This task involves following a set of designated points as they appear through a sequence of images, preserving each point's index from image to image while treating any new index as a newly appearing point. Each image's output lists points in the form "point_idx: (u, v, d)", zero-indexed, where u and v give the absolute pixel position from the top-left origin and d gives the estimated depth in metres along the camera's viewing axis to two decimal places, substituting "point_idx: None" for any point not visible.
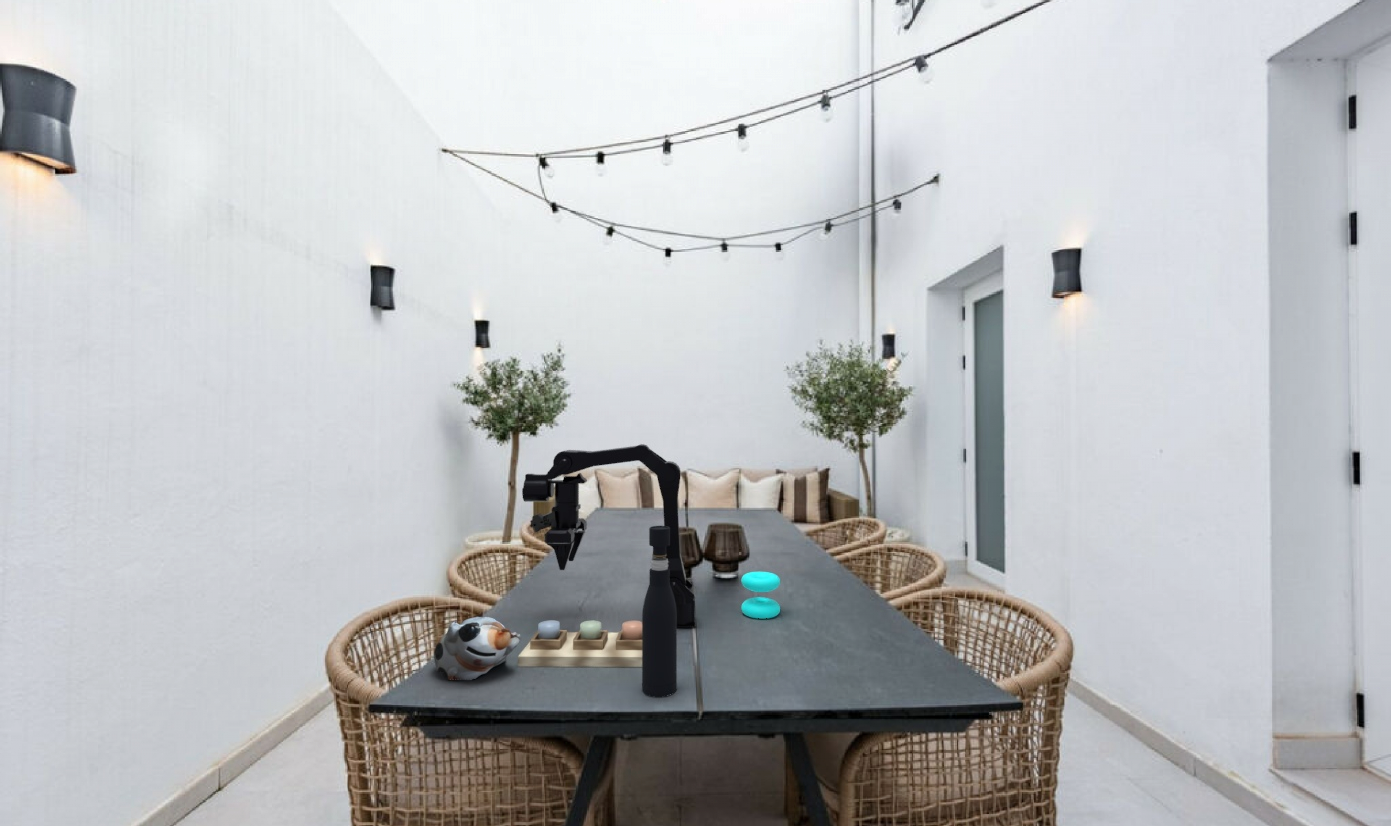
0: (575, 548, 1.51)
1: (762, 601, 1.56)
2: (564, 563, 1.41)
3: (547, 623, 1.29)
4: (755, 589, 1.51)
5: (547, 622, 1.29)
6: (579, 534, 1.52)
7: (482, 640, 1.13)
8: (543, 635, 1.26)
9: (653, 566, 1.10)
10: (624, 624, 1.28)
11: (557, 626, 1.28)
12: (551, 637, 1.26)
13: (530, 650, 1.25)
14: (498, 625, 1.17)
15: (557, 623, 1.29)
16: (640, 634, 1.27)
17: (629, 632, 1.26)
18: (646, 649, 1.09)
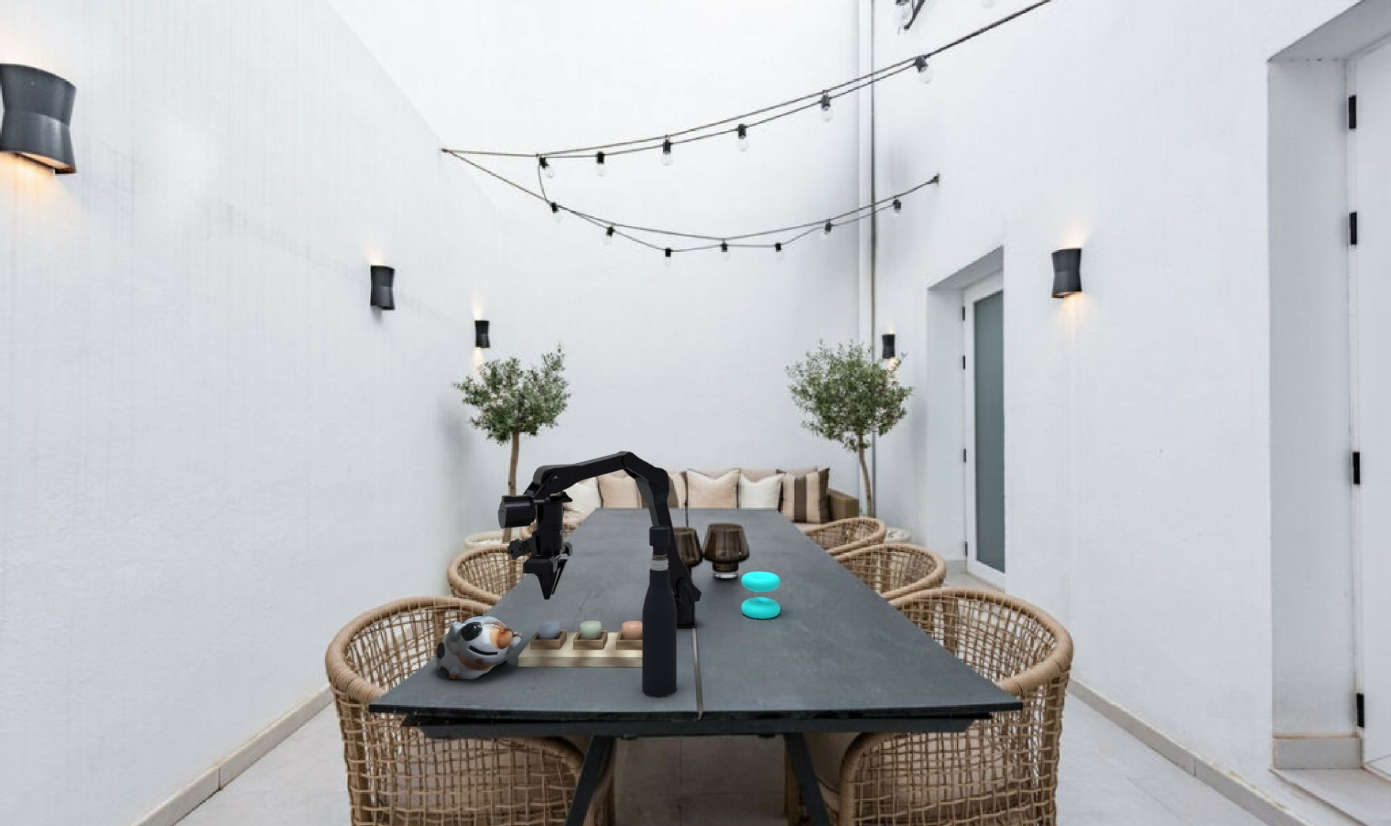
0: (556, 579, 1.30)
1: (762, 601, 1.56)
2: (549, 592, 1.26)
3: (547, 623, 1.29)
4: (755, 589, 1.51)
5: (547, 622, 1.29)
6: (561, 563, 1.31)
7: (484, 639, 1.14)
8: (543, 635, 1.26)
9: (653, 566, 1.10)
10: (624, 624, 1.28)
11: (557, 626, 1.28)
12: (551, 637, 1.26)
13: (530, 650, 1.25)
14: (500, 624, 1.18)
15: (557, 623, 1.29)
16: (640, 634, 1.27)
17: (629, 632, 1.26)
18: (646, 649, 1.09)
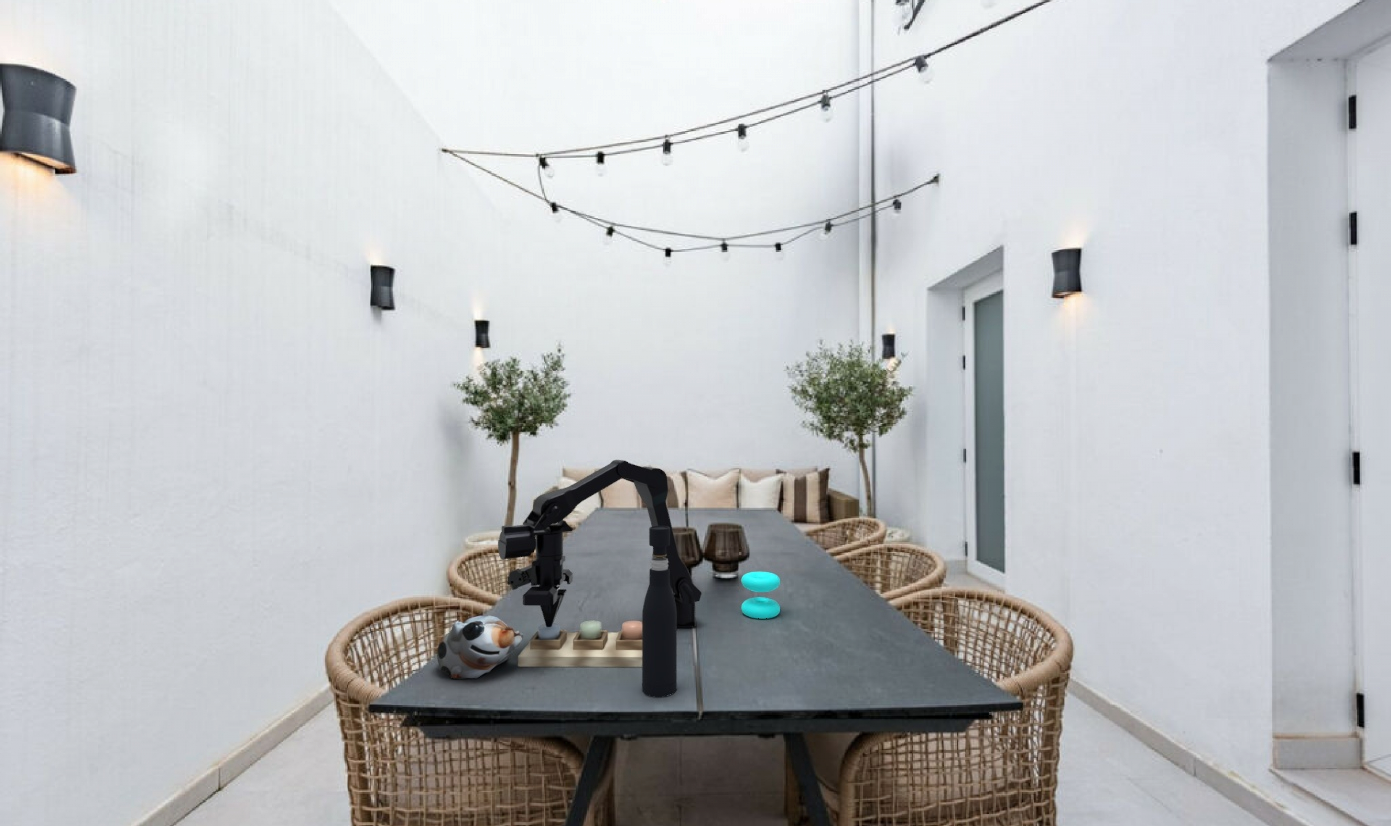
0: None
1: (762, 601, 1.56)
2: (551, 619, 1.28)
3: None
4: (755, 589, 1.51)
5: None
6: (559, 594, 1.29)
7: (486, 638, 1.14)
8: (543, 638, 1.26)
9: (653, 566, 1.10)
10: (624, 624, 1.28)
11: (557, 629, 1.28)
12: None
13: (530, 650, 1.25)
14: (501, 624, 1.18)
15: (557, 626, 1.29)
16: (640, 634, 1.27)
17: (629, 632, 1.26)
18: (646, 649, 1.09)
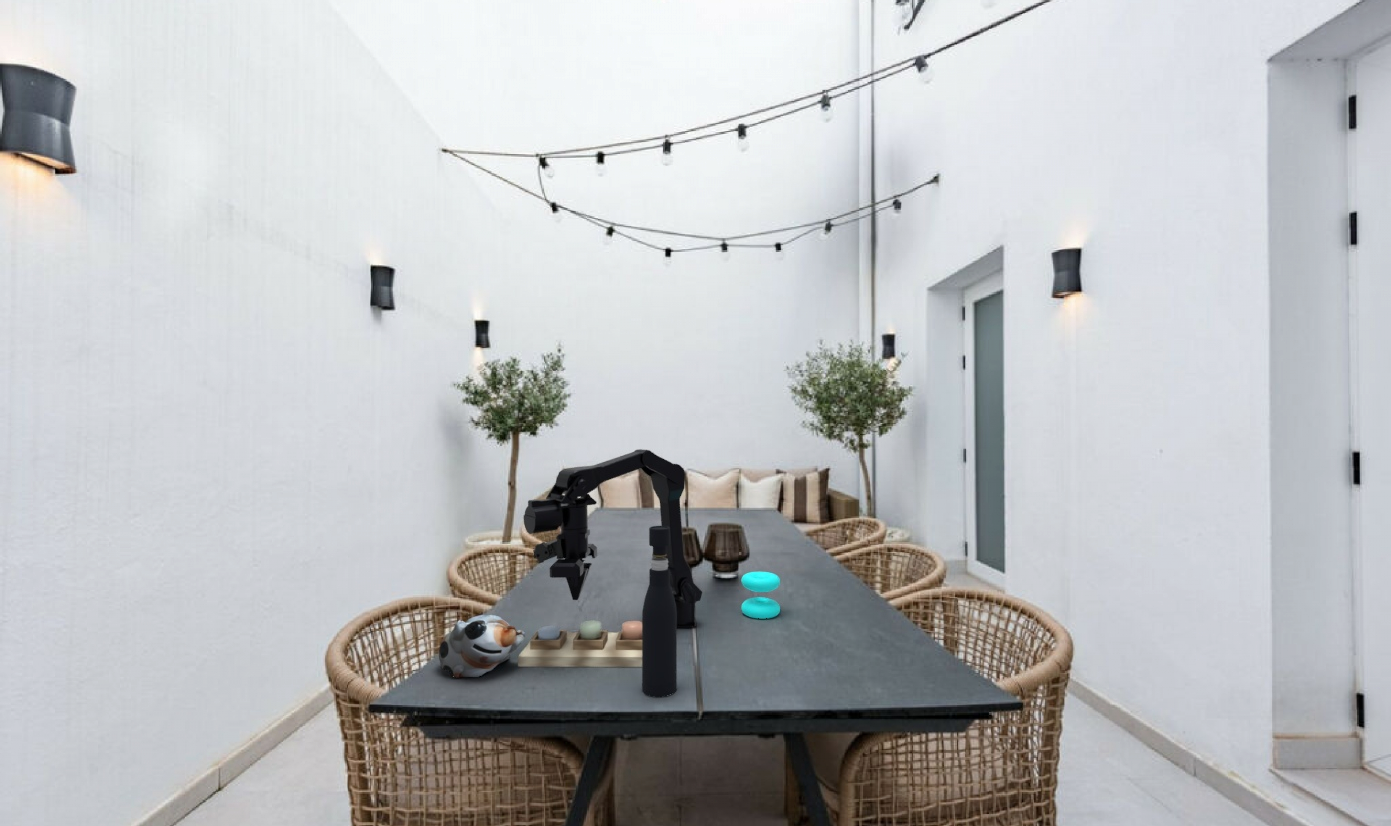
0: None
1: (762, 601, 1.56)
2: (577, 592, 1.28)
3: (547, 629, 1.29)
4: (755, 589, 1.51)
5: (547, 627, 1.29)
6: (585, 568, 1.29)
7: (488, 637, 1.15)
8: None
9: (653, 566, 1.10)
10: (624, 624, 1.28)
11: (557, 632, 1.28)
12: None
13: (530, 650, 1.25)
14: (503, 623, 1.19)
15: (557, 629, 1.29)
16: (640, 634, 1.27)
17: (629, 632, 1.26)
18: (646, 649, 1.09)
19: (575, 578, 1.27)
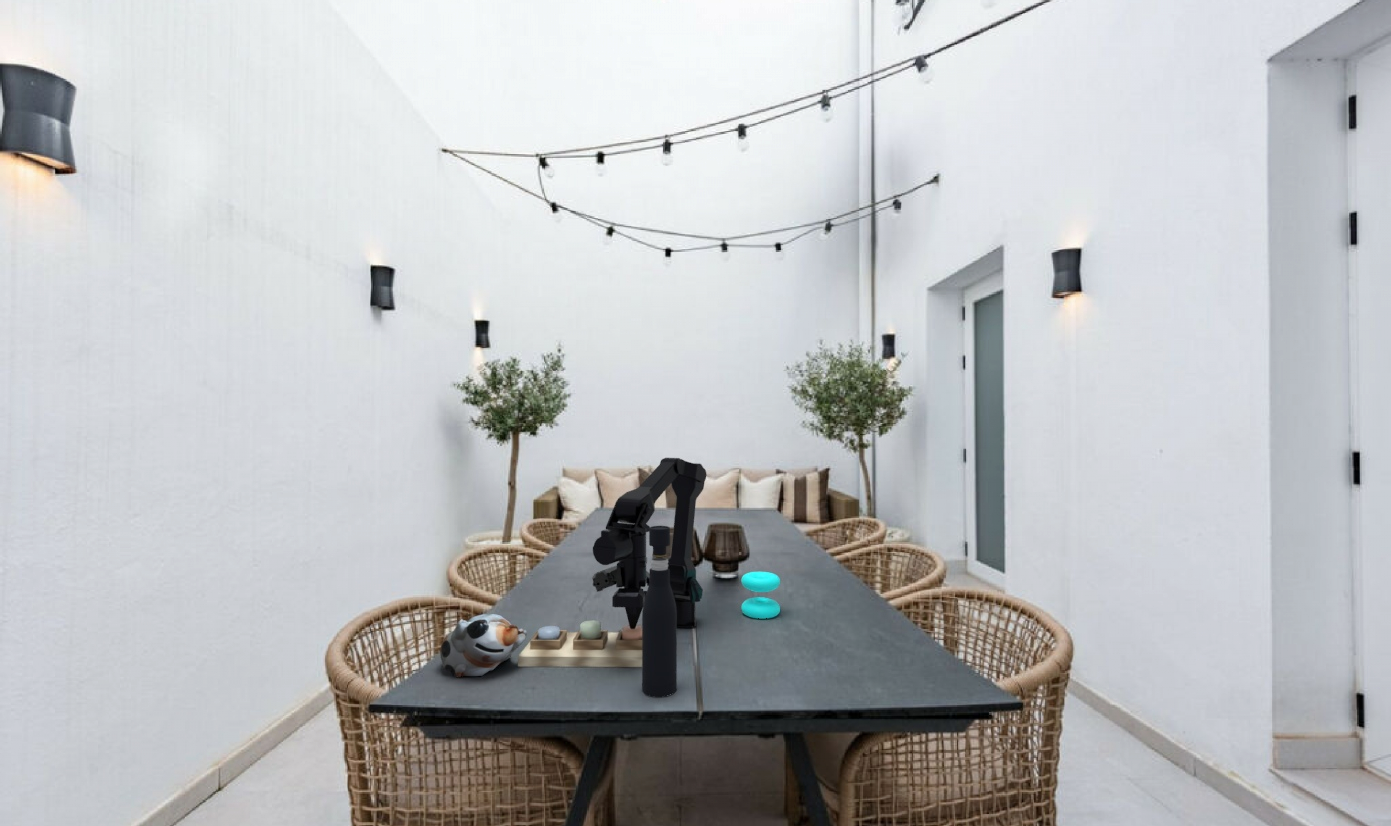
0: None
1: (762, 601, 1.56)
2: (635, 621, 1.27)
3: (547, 629, 1.29)
4: (755, 589, 1.51)
5: (547, 627, 1.29)
6: None
7: (491, 636, 1.15)
8: None
9: (653, 566, 1.10)
10: (624, 628, 1.28)
11: (557, 632, 1.28)
12: None
13: (530, 650, 1.25)
14: (505, 622, 1.19)
15: (557, 629, 1.29)
16: (640, 638, 1.27)
17: (629, 636, 1.26)
18: (646, 649, 1.09)
19: (633, 607, 1.27)
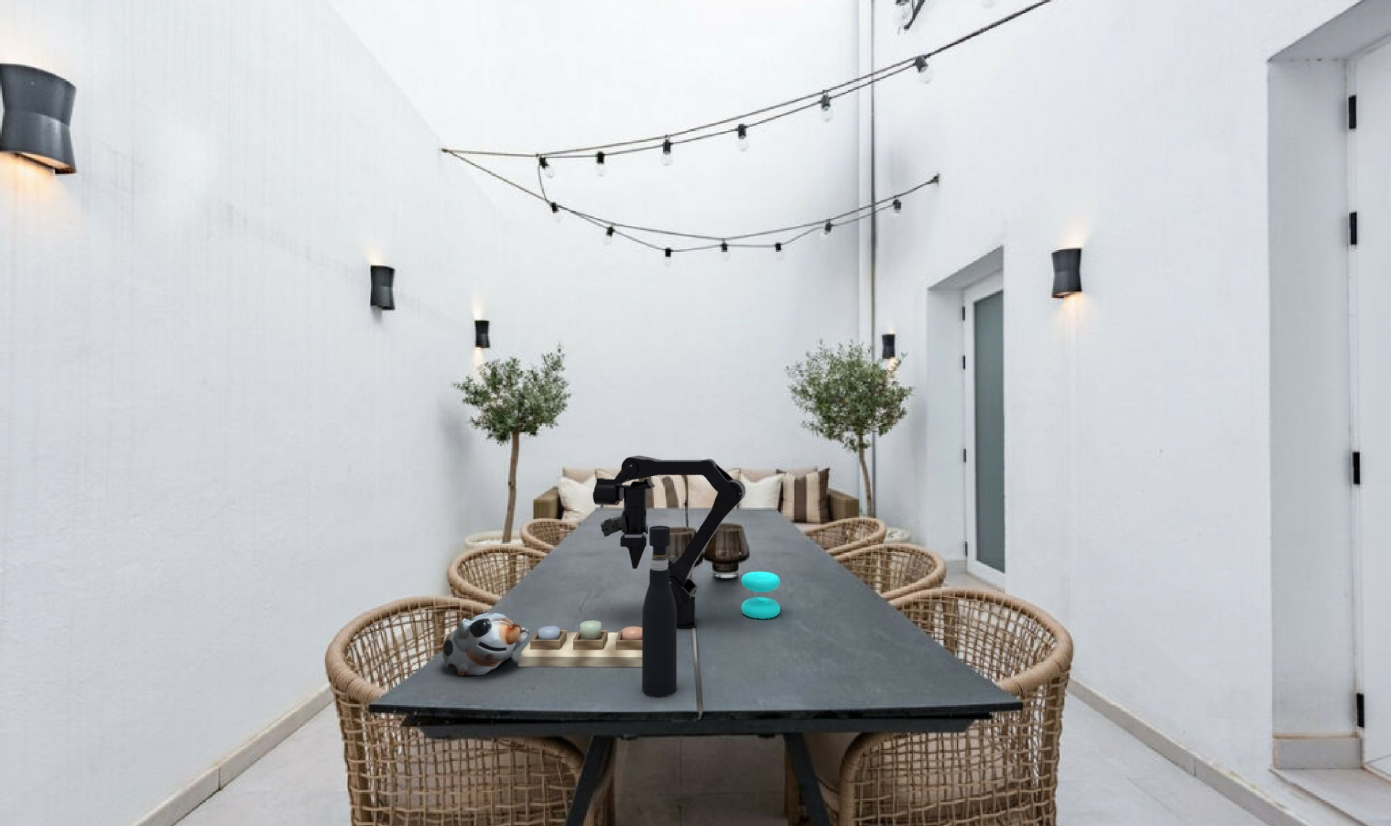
0: None
1: (762, 601, 1.56)
2: (637, 562, 1.49)
3: (547, 629, 1.29)
4: (755, 589, 1.51)
5: (547, 627, 1.29)
6: None
7: (494, 635, 1.16)
8: None
9: (653, 566, 1.10)
10: (624, 630, 1.28)
11: (557, 632, 1.28)
12: None
13: (530, 650, 1.25)
14: (508, 620, 1.20)
15: (557, 629, 1.29)
16: None
17: (629, 638, 1.26)
18: (646, 649, 1.09)
19: (636, 549, 1.48)
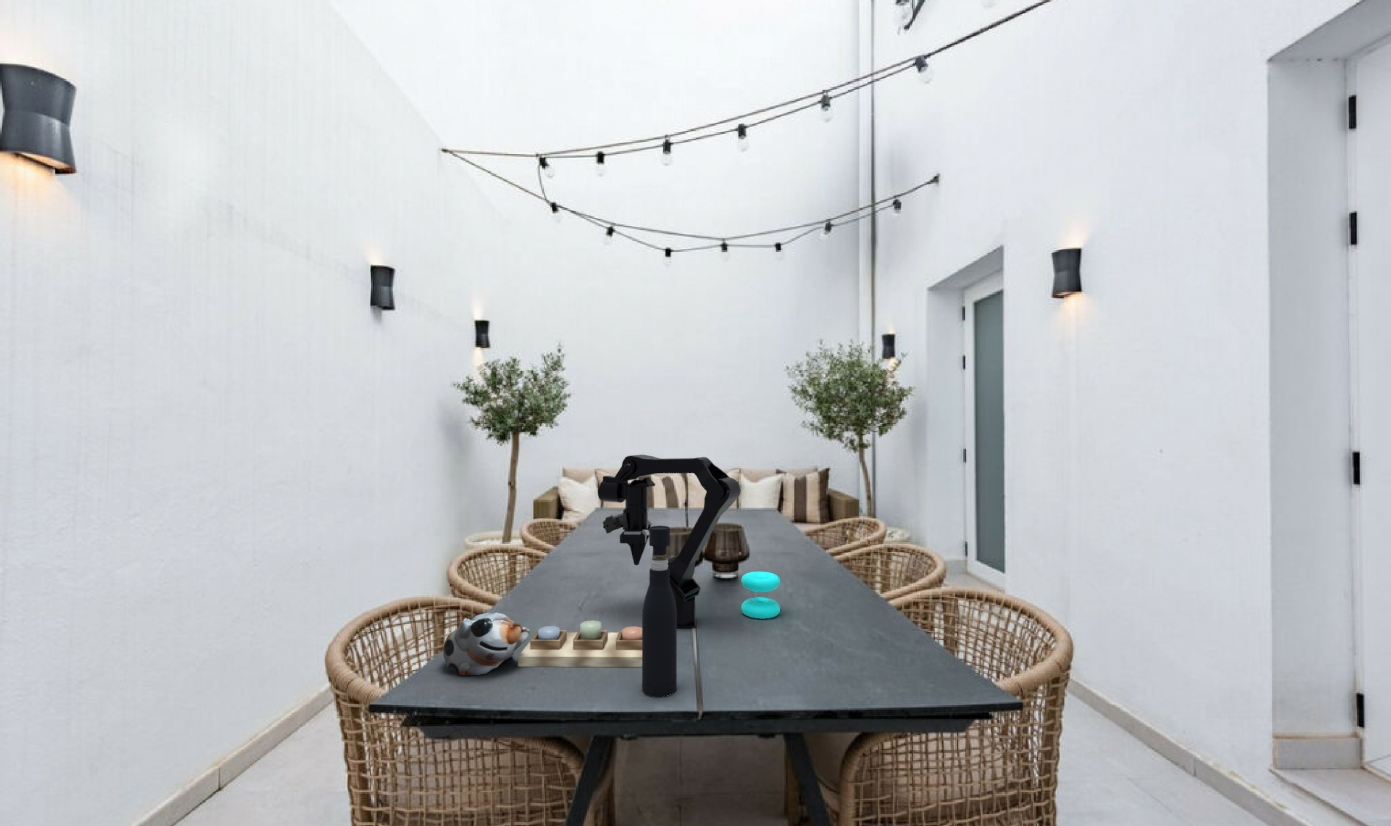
0: None
1: (762, 601, 1.56)
2: (638, 558, 1.52)
3: (547, 629, 1.29)
4: (755, 589, 1.51)
5: (547, 627, 1.29)
6: None
7: (495, 635, 1.16)
8: None
9: (653, 566, 1.10)
10: (624, 630, 1.28)
11: (557, 632, 1.28)
12: None
13: (530, 650, 1.25)
14: (508, 620, 1.20)
15: (557, 629, 1.29)
16: None
17: (629, 638, 1.26)
18: (646, 649, 1.09)
19: (637, 546, 1.52)
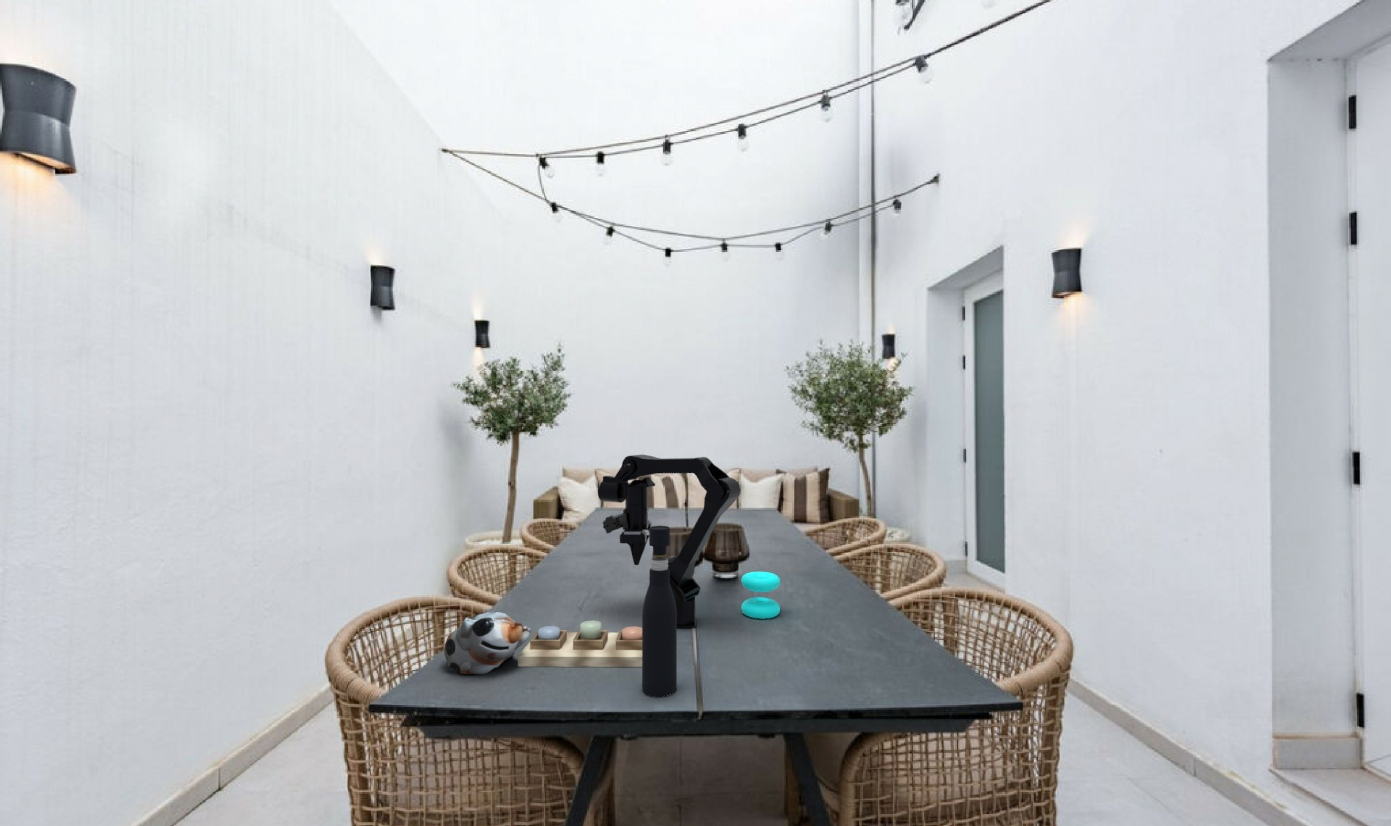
0: None
1: (762, 601, 1.56)
2: (638, 558, 1.52)
3: (547, 629, 1.29)
4: (755, 589, 1.51)
5: (547, 627, 1.29)
6: None
7: (496, 634, 1.17)
8: None
9: (653, 566, 1.10)
10: (624, 630, 1.28)
11: (557, 632, 1.28)
12: None
13: (530, 650, 1.25)
14: (510, 619, 1.20)
15: (557, 629, 1.29)
16: None
17: (629, 638, 1.26)
18: (646, 649, 1.09)
19: (637, 546, 1.52)
